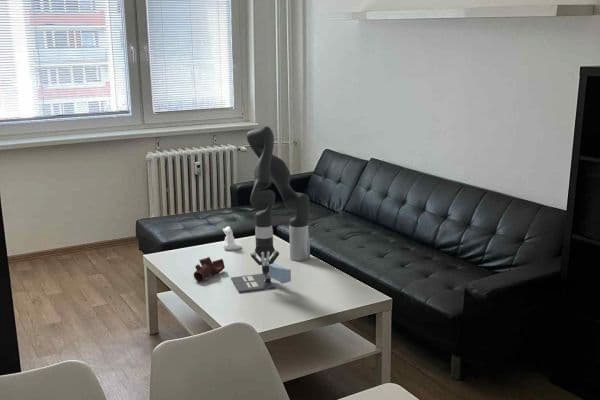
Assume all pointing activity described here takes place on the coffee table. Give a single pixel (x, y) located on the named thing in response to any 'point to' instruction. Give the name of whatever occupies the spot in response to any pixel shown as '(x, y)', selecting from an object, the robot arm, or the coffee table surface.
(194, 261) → the coffee table surface
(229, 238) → the sitting furry creature
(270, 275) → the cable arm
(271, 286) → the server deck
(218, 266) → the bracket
